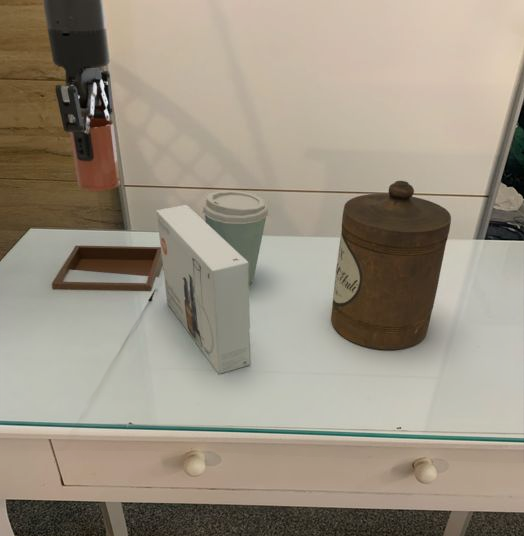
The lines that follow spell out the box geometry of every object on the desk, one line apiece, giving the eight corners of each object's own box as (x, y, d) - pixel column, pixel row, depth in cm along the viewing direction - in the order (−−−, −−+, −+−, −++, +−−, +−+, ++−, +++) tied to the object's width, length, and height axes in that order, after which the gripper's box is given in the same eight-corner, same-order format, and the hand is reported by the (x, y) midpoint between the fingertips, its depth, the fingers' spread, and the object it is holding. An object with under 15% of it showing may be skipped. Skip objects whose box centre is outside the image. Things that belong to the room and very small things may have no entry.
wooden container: (337, 294, 93) (353, 161, 81) (428, 307, 90) (459, 172, 78) (322, 341, 81) (339, 194, 69) (426, 358, 79) (462, 208, 66)
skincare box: (163, 304, 89) (154, 208, 80) (194, 297, 91) (190, 203, 82) (215, 376, 74) (212, 268, 65) (251, 366, 76) (254, 260, 67)
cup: (71, 189, 84) (61, 126, 79) (87, 176, 89) (78, 117, 84) (112, 192, 83) (103, 129, 78) (125, 179, 88) (119, 119, 83)
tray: (54, 299, 89) (51, 283, 88) (78, 259, 101) (75, 245, 100) (151, 300, 90) (150, 285, 88) (163, 261, 102) (162, 247, 100)
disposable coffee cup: (237, 261, 102) (237, 181, 94) (279, 282, 96) (283, 198, 88) (192, 279, 96) (188, 195, 88) (234, 302, 90) (234, 214, 81)
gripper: (71, 20, 80) (89, 140, 90) (23, 29, 68) (49, 166, 78) (121, 22, 79) (134, 142, 89) (82, 31, 68) (101, 169, 77)
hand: (94, 153), depth 83 cm, fingers closed on cup, 6 cm apart
